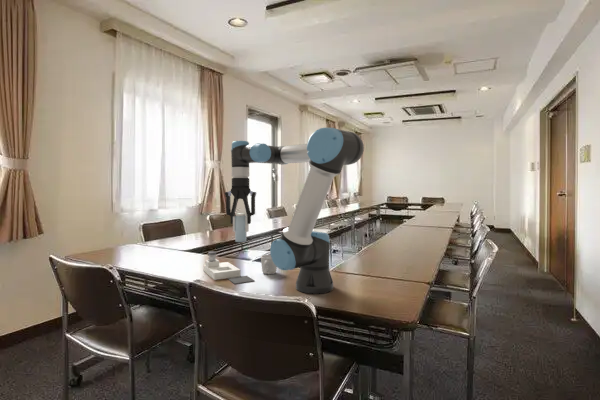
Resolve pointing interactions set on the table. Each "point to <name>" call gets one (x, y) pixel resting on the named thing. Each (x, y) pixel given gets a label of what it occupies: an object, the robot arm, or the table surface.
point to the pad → (240, 279)
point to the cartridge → (240, 227)
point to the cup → (268, 265)
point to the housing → (220, 270)
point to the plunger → (212, 256)
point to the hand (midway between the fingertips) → (240, 231)
